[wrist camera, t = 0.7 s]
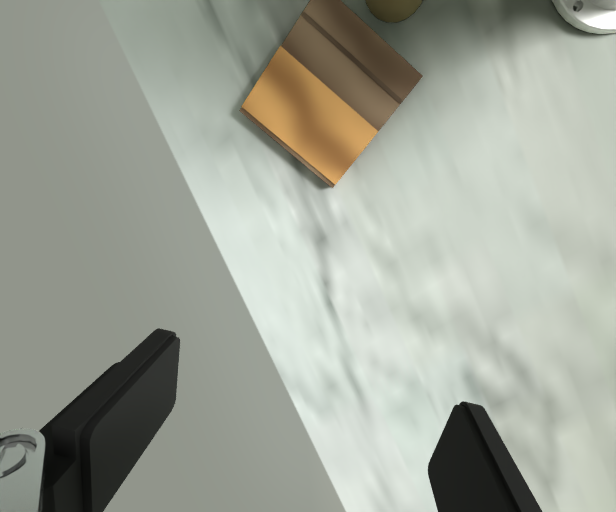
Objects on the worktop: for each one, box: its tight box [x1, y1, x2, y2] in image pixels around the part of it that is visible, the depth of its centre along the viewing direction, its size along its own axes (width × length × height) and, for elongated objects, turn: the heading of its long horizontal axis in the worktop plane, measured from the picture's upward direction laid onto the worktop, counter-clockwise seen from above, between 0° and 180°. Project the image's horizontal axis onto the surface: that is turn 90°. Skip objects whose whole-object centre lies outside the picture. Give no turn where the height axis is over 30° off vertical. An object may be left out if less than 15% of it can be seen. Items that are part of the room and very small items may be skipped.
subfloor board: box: [239, 0, 423, 188], centre depth 33 cm, size 14×13×2 cm
